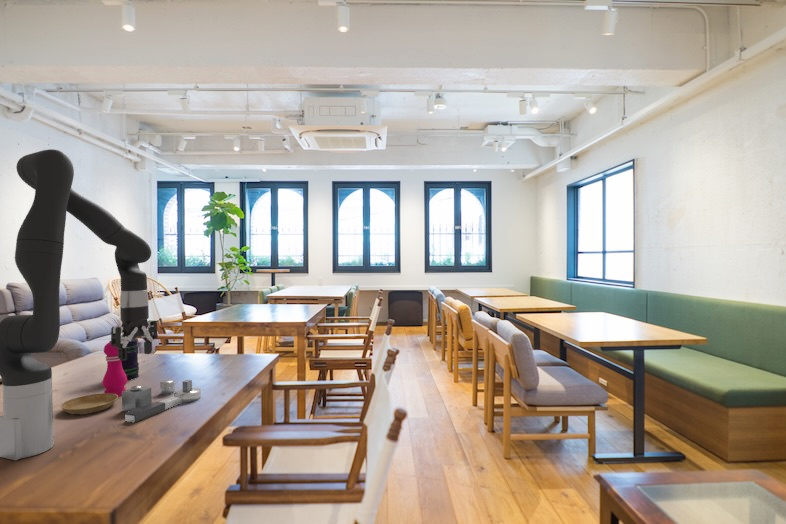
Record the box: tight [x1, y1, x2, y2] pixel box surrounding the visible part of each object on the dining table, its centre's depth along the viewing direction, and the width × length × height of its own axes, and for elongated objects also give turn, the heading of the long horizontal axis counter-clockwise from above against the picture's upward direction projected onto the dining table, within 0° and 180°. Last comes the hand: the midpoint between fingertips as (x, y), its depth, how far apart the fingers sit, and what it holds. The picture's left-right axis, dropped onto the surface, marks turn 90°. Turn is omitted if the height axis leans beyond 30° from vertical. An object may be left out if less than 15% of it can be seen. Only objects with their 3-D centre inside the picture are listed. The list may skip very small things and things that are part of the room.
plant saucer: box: [60, 392, 119, 415], centre depth 134 cm, size 15×15×3 cm
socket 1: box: [121, 385, 153, 412], centre depth 133 cm, size 6×6×7 cm
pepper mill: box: [101, 341, 128, 397], centre depth 147 cm, size 7×7×20 cm
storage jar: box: [108, 337, 140, 381], centre depth 168 cm, size 10×10×15 cm
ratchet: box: [124, 379, 202, 424], centre depth 134 cm, size 25×8×6 cm, turn 160°
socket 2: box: [159, 379, 176, 396], centre depth 148 cm, size 4×4×4 cm
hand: (135, 356), depth 133 cm, fingers open, 8 cm apart
